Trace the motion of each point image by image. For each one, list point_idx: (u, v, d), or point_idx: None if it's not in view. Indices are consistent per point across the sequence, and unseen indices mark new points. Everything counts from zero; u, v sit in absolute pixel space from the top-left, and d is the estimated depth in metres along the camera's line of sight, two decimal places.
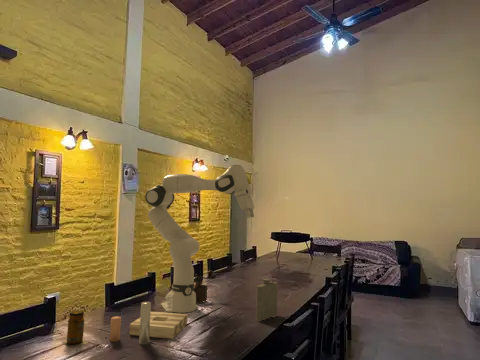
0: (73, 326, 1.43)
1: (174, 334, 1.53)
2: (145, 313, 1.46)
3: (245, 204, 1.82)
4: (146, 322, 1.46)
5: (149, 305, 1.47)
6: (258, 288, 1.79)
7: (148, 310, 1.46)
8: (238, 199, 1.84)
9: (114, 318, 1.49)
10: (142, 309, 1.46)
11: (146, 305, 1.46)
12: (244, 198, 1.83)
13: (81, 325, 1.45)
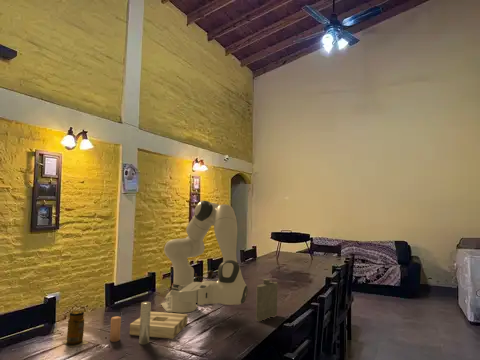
0: (73, 326, 1.43)
1: (174, 334, 1.53)
2: (145, 313, 1.46)
3: (182, 300, 1.36)
4: (146, 322, 1.46)
5: (149, 305, 1.47)
6: (258, 288, 1.79)
7: (148, 310, 1.46)
8: (192, 292, 1.36)
9: (114, 318, 1.49)
10: (142, 309, 1.46)
11: (146, 305, 1.46)
12: (190, 301, 1.35)
13: (81, 325, 1.45)
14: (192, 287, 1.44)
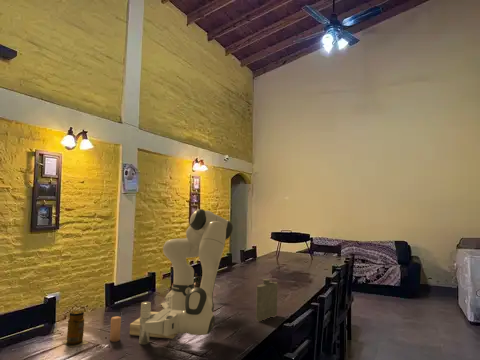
0: (73, 326, 1.43)
1: (174, 334, 1.53)
2: (145, 313, 1.46)
3: (148, 331, 1.37)
4: None
5: (149, 305, 1.47)
6: (258, 288, 1.79)
7: (148, 310, 1.46)
8: (158, 323, 1.37)
9: (114, 318, 1.49)
10: (142, 309, 1.46)
11: (146, 305, 1.46)
12: (156, 332, 1.36)
13: (81, 325, 1.45)
14: (160, 316, 1.45)
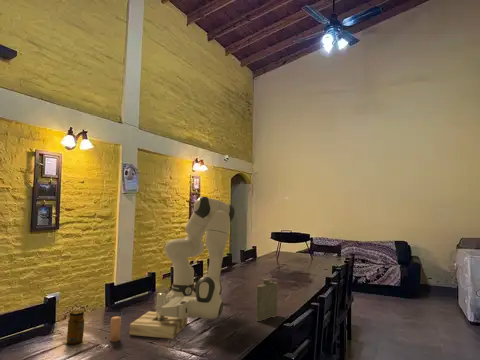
0: (73, 326, 1.43)
1: (174, 334, 1.53)
2: (161, 302, 1.63)
3: (164, 314, 1.54)
4: None
5: (164, 295, 1.64)
6: (258, 288, 1.79)
7: (163, 300, 1.63)
8: (173, 308, 1.54)
9: (114, 318, 1.49)
10: (158, 299, 1.63)
11: (162, 295, 1.63)
12: (172, 315, 1.53)
13: (81, 325, 1.45)
14: (174, 302, 1.62)
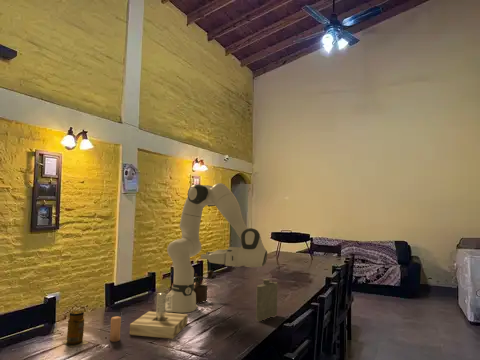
0: (73, 326, 1.43)
1: (174, 334, 1.53)
2: (161, 302, 1.63)
3: (212, 261, 1.58)
4: (162, 310, 1.62)
5: (164, 295, 1.64)
6: (258, 288, 1.79)
7: (163, 300, 1.63)
8: (220, 255, 1.58)
9: (114, 318, 1.49)
10: (158, 299, 1.63)
11: (162, 295, 1.63)
12: (219, 262, 1.58)
13: (81, 325, 1.45)
14: (219, 252, 1.66)
